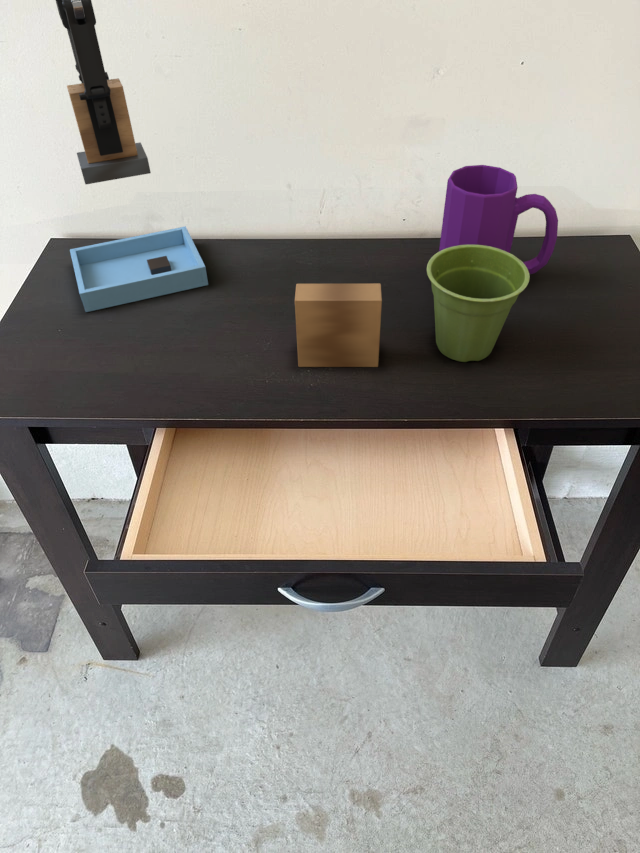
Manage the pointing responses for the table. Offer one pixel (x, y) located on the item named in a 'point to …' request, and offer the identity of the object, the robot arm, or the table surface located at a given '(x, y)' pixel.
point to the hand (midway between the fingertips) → (109, 146)
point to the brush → (90, 160)
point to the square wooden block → (338, 324)
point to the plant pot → (473, 297)
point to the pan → (136, 268)
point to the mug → (492, 212)
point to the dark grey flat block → (159, 265)
